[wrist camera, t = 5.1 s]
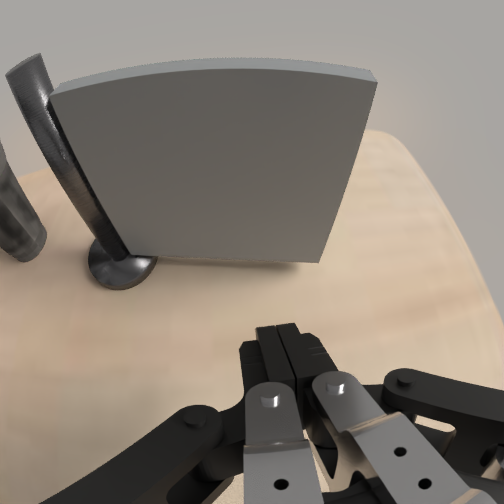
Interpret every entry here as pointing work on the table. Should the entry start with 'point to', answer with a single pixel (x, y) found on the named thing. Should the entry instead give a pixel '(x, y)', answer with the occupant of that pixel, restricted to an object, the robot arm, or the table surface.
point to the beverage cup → (18, 217)
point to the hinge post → (74, 178)
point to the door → (219, 153)
